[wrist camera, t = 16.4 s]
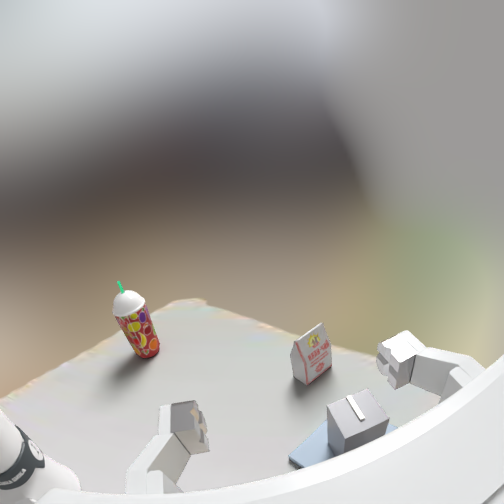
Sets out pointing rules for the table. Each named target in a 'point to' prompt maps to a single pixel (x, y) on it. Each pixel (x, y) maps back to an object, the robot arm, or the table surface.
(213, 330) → the table surface
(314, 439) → the panel
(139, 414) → the table surface
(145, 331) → the smoothie
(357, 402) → the tall gray block
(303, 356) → the white paper bag
